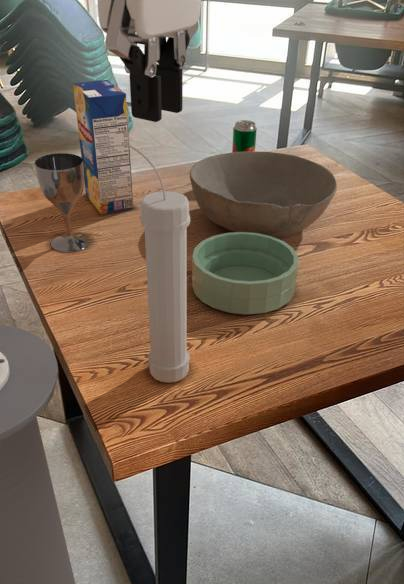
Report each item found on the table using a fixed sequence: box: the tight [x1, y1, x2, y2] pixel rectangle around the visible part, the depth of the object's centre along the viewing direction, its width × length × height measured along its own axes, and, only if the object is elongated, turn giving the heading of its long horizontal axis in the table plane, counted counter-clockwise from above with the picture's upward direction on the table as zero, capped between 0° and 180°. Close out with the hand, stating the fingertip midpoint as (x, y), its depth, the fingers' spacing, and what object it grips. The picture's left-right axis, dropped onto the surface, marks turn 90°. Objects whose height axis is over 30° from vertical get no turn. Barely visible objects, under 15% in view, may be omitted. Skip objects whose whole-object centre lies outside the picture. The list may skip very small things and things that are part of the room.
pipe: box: [129, 144, 191, 384], centre depth 68 cm, size 6×6×30 cm
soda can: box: [231, 119, 258, 153], centre depth 127 cm, size 5×5×12 cm
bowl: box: [189, 150, 338, 238], centre depth 110 cm, size 28×28×10 cm
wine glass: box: [34, 152, 91, 253], centre depth 100 cm, size 8×8×15 cm
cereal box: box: [72, 79, 134, 215], centre depth 113 cm, size 7×11×22 cm, turn 25°
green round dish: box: [191, 231, 299, 315], centre depth 92 cm, size 17×17×6 cm
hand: (157, 112), depth 56 cm, fingers closed
